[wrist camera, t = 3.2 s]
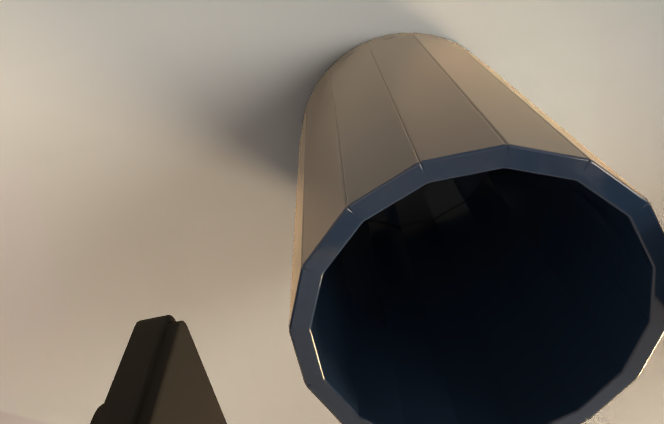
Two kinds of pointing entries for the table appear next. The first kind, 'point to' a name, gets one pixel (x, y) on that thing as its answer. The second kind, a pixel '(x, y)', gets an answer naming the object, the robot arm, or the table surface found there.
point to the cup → (462, 249)
